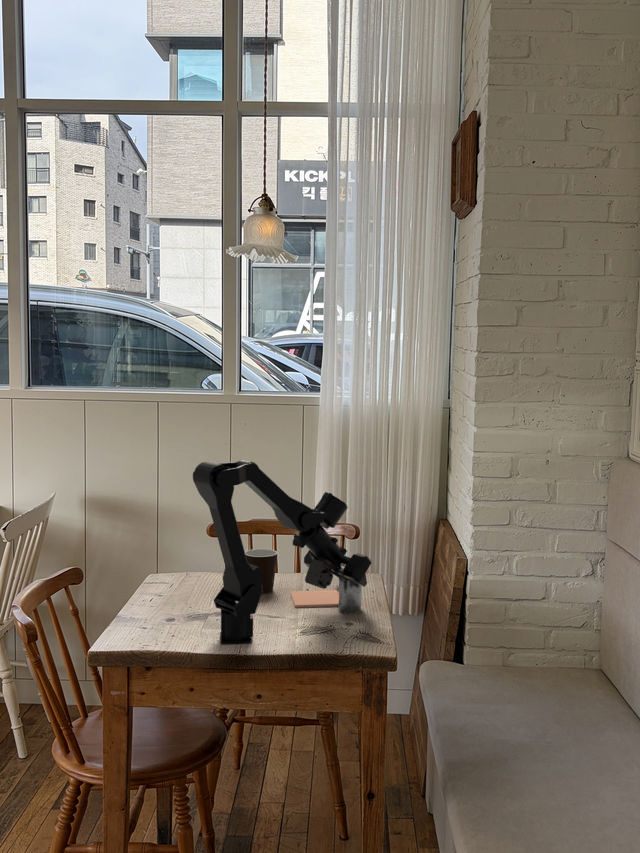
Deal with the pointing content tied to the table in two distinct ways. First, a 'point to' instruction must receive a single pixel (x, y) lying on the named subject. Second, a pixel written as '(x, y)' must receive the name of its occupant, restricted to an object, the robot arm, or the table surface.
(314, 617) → the table surface
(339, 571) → the press pot
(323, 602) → the plate
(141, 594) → the table surface
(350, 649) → the table surface
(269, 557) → the coffee mug
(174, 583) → the table surface
